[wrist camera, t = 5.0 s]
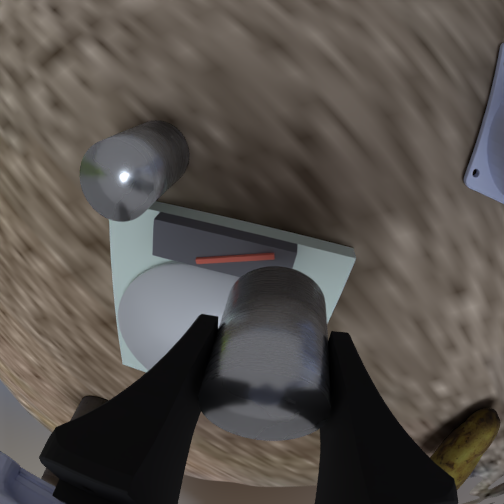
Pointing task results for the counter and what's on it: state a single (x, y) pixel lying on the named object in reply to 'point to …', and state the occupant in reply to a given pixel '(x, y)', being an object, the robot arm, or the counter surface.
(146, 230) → the scale
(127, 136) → the cylinder
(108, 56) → the counter surface
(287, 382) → the cylinder
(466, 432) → the potato
